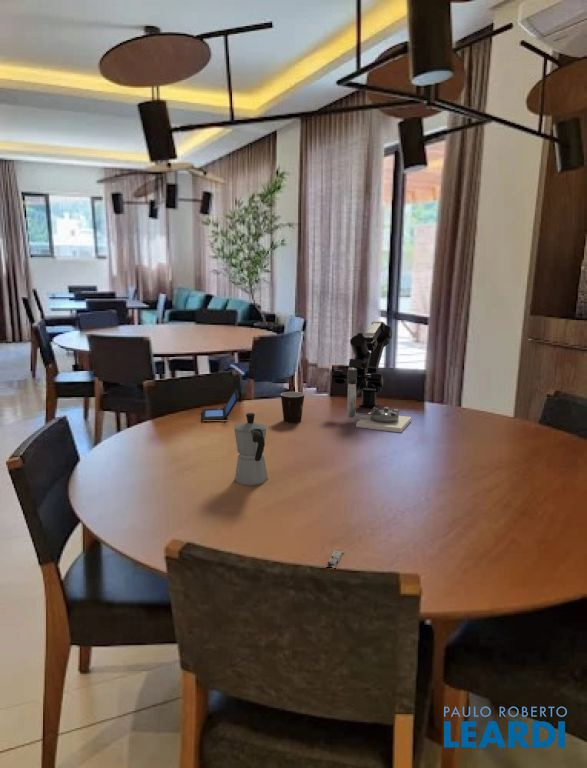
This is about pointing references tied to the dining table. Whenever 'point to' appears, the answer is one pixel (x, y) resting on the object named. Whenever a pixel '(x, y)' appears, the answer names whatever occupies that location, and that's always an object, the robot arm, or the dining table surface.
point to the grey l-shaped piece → (375, 413)
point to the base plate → (384, 424)
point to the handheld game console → (221, 409)
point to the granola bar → (334, 558)
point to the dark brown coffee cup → (292, 406)
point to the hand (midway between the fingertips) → (353, 397)
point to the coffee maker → (250, 452)
